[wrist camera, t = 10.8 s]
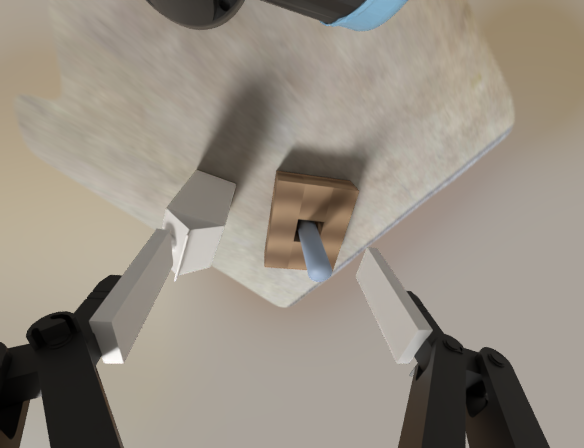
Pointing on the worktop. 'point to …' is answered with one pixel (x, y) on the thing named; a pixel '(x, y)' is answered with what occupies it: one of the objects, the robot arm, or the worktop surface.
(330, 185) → the bore block
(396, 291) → the robot arm
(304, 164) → the worktop surface
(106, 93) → the worktop surface
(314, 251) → the pin
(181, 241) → the milk carton
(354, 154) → the worktop surface
